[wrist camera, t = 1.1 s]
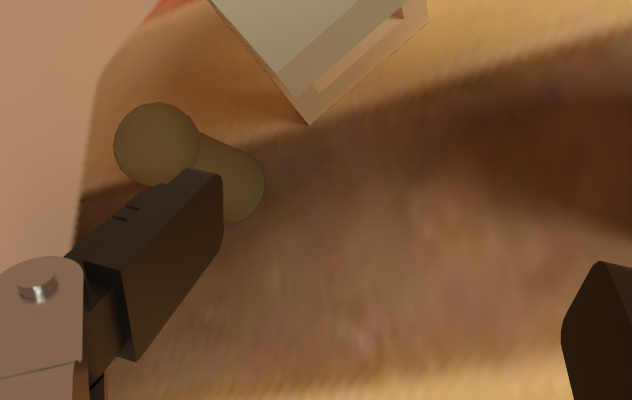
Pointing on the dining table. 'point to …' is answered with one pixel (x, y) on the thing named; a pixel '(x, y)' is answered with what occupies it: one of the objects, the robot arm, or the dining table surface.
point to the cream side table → (321, 42)
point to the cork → (185, 156)
